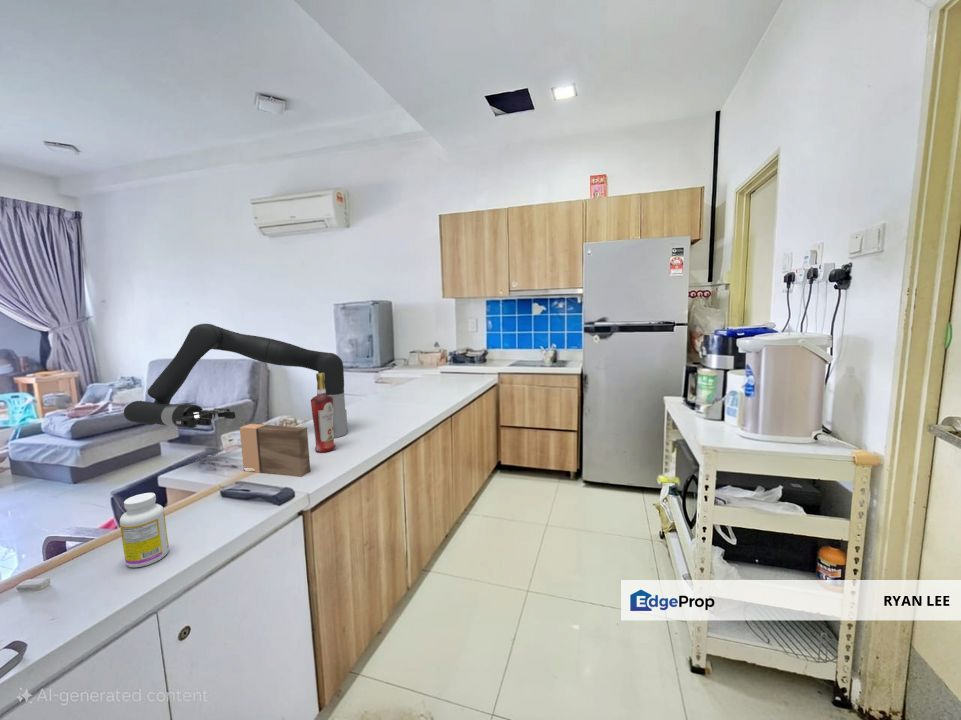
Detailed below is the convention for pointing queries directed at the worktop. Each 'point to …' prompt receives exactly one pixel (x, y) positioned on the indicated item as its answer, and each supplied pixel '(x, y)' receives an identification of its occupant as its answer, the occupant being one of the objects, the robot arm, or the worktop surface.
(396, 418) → the worktop surface
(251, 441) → the light orange tall block
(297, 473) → the brown wooden flat block
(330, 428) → the liquor
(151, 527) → the supplement bottle
